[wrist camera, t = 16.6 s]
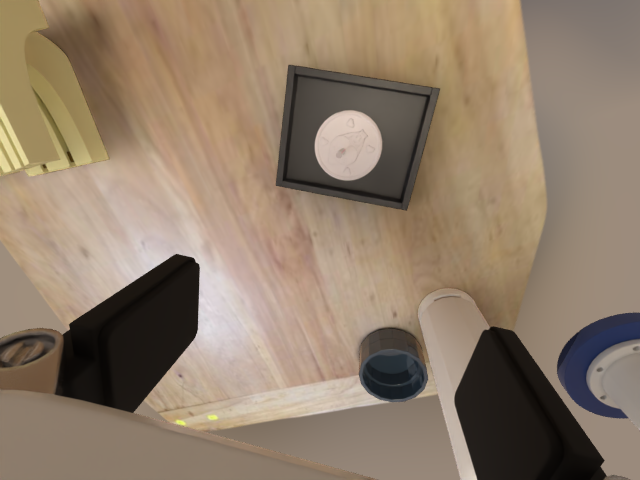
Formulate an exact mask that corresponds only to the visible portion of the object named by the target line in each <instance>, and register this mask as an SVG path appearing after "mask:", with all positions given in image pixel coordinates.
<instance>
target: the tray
mask: <svg viewBox="0 0 640 480" xmlns="http://www.w3.org/2000/svg"><path fill="white" fill-rule="evenodd" d="M439 91H440V89H439V88H432V87H427V86H420V85H414V84H408V83H401V82H395V81H389V80H382V79H376V78H370V77H363V76H357V75H351V74H345V73H338V72H332V71H326V70H319V69H313V68H307V67H300V66H294V65H289V66H288V75H287V84H286V94H285V103H284V113H283V122H282V132H281V141H280V151H279V160H278V170H277V179H276V186H280V187H285V188H290V189H296V190H301V191H306V192H312V193H317V194H322V195H327V196H333V197H338V198H343V199H349V200H354V201H359V202H364V203H370V204H375V205H380V206H386V207H391V208H396V209H402V210H407V209H408V205H409V202H410V198H411V194H412V191H413V187H414V183H415V180H416V176H417V172H418V168H419V165H420V161H421V157H422V154H423V150H424V146H425V143H426V139H427V135H428V132H429V128H430V124H431V121H432V117H433V113H434V110H435V106H436V102H437V99H438V95H439ZM346 110H354V111H358V112H362V113H364V114H365V115H367V116H369V117H370V118H371V119H372V120H373V121H374V122H375V123H376V125H377V127H378V129H379V130H380V133H381V137H382V151H381V155H380V158H379V160H378V162H377V164H376V165H375V167H374V168H373V169H372V170H371V171H370V172H369V173H368V174H367V175H365V176H363V177H361V178H359V179H356V180H349V181H346V180H339V179H336V178H334V177H332V176H330V175H329V174H327V173H326V172H325V171H324V170H323V169H322V167H321V166H320V164H319V162H318V160H317V158H316V154H315V139H316V135H317V132H318V130H319V128H320V127H321V125H322V124H323V123H324V121H326V120H327V119H328V118H329V117H330V116H332V115H334V114H335V113H338V112H341V111H346Z"/></svg>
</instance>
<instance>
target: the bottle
mask: <svg viewBox="0 0 640 480" xmlns="http://www.w3.org/2000/svg"><path fill="white" fill-rule="evenodd" d="M448 296H455V297H448ZM442 297H446V298H442ZM459 297H460V298H459ZM439 298H441V299H439ZM437 299H439V300H437ZM434 300H436V301H434ZM418 318H419V322H420V326H421V329H422V334H423V338H424V341H425V345H426V349H427V353H428V357H429V361H430V364H431V368H432V372H433V376H434V380H435V383H436V387H437V391H438V395H439V398H440V402H441V406H442V410H443V414H444V418H445V422H446V425H447V429H448V433H449V437H450V440H451V444H452V448H453V452H454V456H455V460H456V463H457V467H458V471H459V475H460V479H461V480H477V477H476V474H475V471H474V467H473V464H472V461H471V457H470V454H469V451H468V448H467V444H466V441H465V438H464V434H463V431H462V428H461V424H460V421H459V418H458V414H457V411H456V408H455V404H454V397H455V393H456V390H457V388H458V386H459V383H460V381H461V379H462V377H463V374H464V372H465V370H466V368H467V365H468V363H469V361H470V358H471V356H472V354H473V352H474V349H475V347H476V345H477V343H478V340H479V338H480V336H481V334H482V332H483V331H484V330H489V328H490V327H489V325H488V323H487V322H486V320H485V318H484V317H483V315H482V313H481V312H480V310H479V309H478V307H477V305H476V303H475V302H474V300H473V298H471V297H470V296H469V295H468V294H467V293H465V292H463V291H461V290H459V289H453V288H444V289H438V290H436V291H434V292H431V293H430V294H428V295H427V296H426V297H425V298H424V299H423V300H422V302H421V303H420V305H419V309H418Z"/></svg>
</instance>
